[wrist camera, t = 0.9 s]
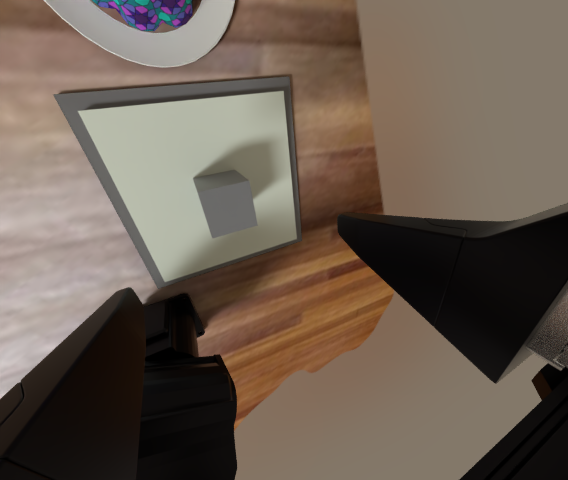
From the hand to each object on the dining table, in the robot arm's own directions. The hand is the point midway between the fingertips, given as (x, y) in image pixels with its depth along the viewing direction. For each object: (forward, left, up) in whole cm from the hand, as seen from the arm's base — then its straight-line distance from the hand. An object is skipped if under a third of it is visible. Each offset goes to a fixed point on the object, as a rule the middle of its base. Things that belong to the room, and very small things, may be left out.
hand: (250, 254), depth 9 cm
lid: (-1, -1, -13) cm, 13 cm away
